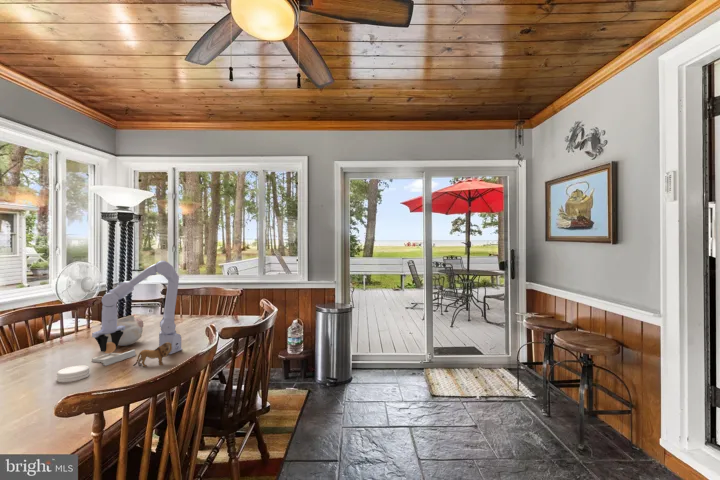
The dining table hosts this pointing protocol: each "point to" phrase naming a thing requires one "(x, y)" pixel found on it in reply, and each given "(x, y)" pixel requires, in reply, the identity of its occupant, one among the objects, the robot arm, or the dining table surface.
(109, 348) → the ball
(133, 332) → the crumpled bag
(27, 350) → the dining table surface
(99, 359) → the tray
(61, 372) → the coaster
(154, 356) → the lion figurine
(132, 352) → the white picture ledge
